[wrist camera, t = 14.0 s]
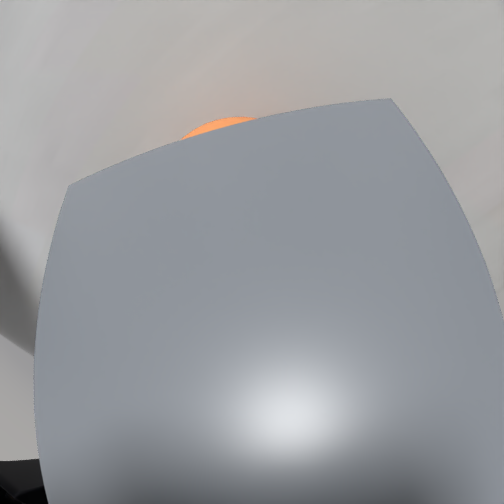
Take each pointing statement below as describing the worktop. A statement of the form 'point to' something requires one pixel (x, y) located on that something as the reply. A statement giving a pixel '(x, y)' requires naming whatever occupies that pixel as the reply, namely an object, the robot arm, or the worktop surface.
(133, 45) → the worktop surface
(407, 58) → the worktop surface
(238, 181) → the matte grey cube
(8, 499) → the robot arm
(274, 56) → the worktop surface
